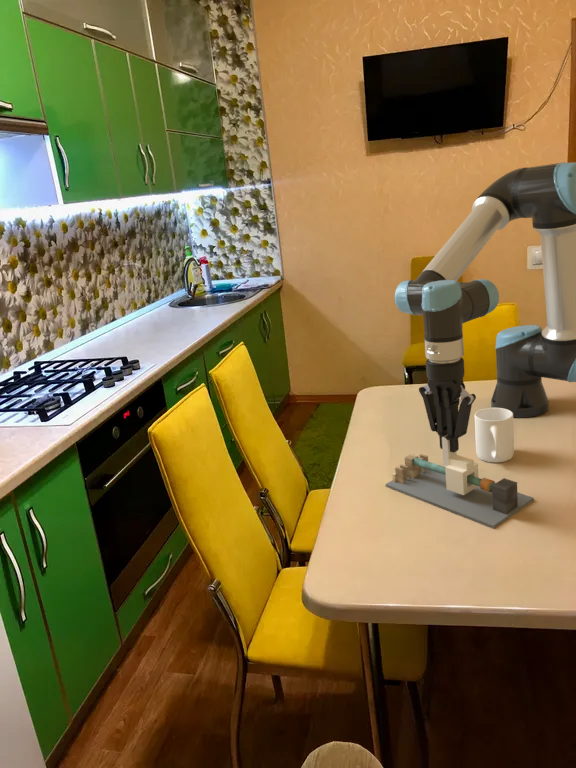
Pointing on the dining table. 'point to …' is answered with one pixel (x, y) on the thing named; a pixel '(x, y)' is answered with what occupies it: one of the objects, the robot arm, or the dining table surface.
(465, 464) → the sleeve
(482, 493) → the mat
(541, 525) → the dining table surface
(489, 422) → the mug
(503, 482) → the comb rail
